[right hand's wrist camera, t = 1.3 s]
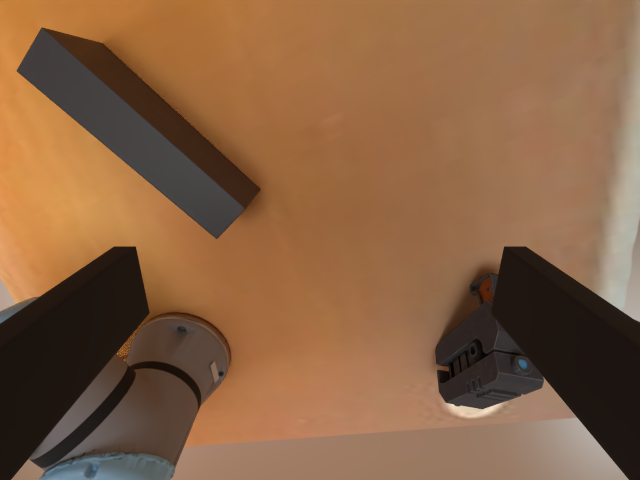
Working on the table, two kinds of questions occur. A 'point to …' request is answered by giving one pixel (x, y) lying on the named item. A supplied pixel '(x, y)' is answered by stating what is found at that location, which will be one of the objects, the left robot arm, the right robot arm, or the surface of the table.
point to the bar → (138, 127)
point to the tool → (483, 358)
